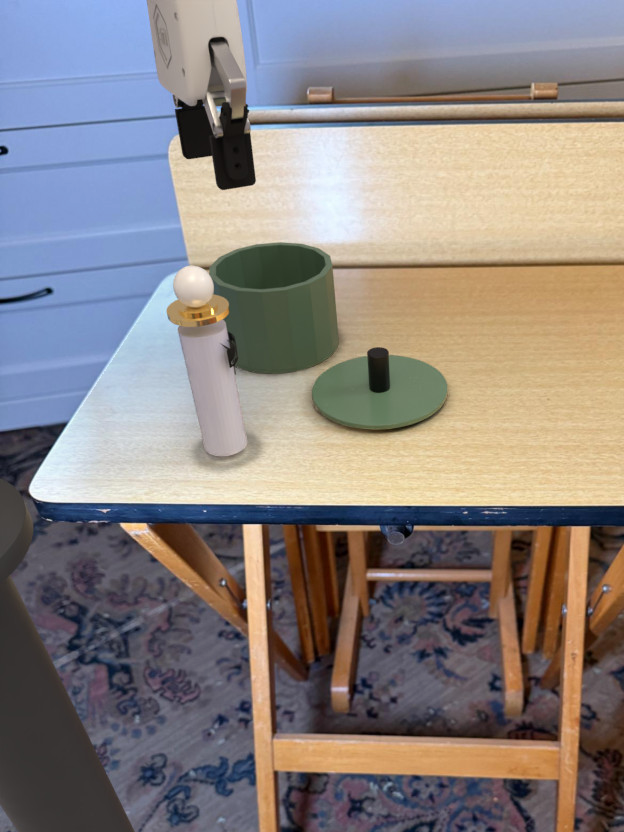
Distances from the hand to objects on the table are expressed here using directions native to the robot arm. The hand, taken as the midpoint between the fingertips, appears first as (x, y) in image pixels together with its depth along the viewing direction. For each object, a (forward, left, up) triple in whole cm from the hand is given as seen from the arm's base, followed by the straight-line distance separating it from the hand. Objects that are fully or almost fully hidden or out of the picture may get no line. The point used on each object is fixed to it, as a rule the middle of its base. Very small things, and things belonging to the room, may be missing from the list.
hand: (218, 170), depth 68 cm
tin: (+11, +18, -28) cm, 35 cm away
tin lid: (+15, 0, -27) cm, 31 cm away
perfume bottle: (-4, 0, -28) cm, 28 cm away
